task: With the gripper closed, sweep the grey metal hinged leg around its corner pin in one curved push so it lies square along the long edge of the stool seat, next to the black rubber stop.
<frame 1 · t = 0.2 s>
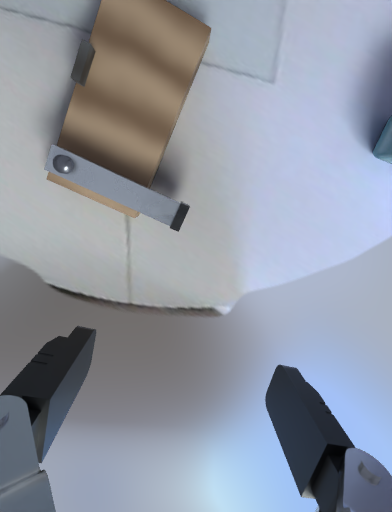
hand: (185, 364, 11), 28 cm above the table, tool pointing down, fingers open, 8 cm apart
hinged leg: (121, 189, 30), point 5 cm above the table, hinge at 0.0°
stool seat: (129, 114, 33), on the table
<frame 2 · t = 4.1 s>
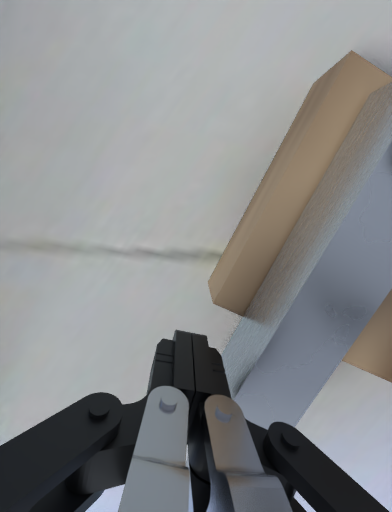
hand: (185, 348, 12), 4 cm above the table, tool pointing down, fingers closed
hinged leg: (313, 304, 10), point 5 cm above the table, hinge at 0.8°, touching gripper
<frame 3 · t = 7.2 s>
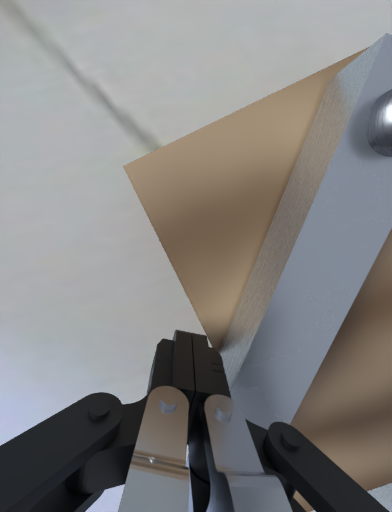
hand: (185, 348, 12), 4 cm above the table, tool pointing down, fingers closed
hinged leg: (297, 293, 10), point 5 cm above the table, hinge at 47.1°, touching gripper
stool seat: (304, 309, 16), on the table
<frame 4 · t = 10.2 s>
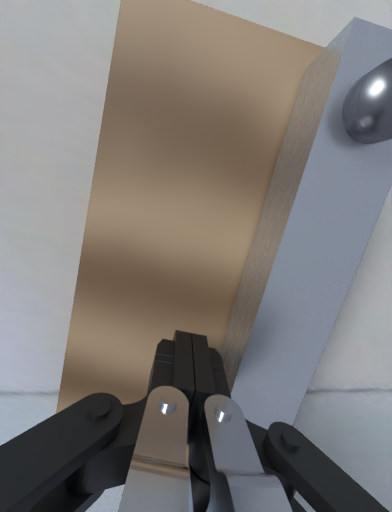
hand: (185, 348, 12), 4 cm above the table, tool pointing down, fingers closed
hinged leg: (290, 289, 10), point 5 cm above the table, hinge at 91.0°, touching gripper
stool seat: (196, 284, 15), on the table
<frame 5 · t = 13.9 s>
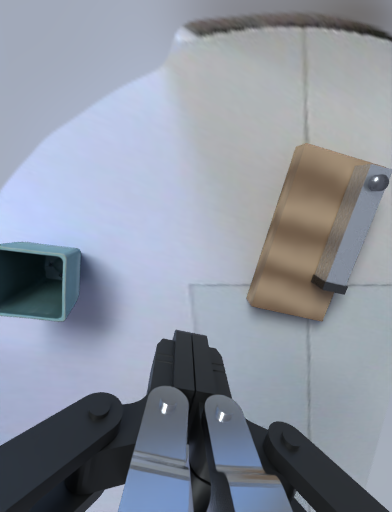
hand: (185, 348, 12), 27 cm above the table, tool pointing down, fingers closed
hinged leg: (350, 231, 34), point 5 cm above the table, hinge at 91.0°
flower pot: (63, 263, 38), on the table
stool seat: (304, 237, 39), on the table
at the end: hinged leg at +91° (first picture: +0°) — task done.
